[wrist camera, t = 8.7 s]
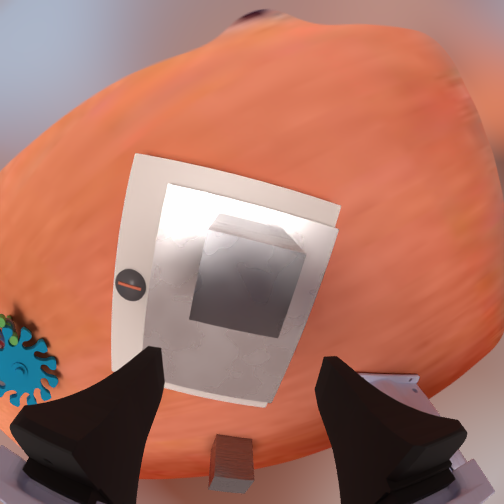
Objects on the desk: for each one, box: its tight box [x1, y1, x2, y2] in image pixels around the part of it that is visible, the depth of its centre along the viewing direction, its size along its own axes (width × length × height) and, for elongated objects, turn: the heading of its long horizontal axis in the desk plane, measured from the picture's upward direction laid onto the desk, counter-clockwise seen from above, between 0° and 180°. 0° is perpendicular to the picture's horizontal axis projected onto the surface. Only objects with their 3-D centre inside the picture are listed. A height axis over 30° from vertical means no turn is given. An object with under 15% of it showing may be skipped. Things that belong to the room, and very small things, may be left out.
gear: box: [0, 314, 58, 407], centre depth 19 cm, size 11×6×10 cm
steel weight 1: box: [189, 213, 306, 338], centre depth 14 cm, size 4×4×6 cm
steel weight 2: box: [208, 434, 254, 493], centre depth 22 cm, size 4×4×6 cm
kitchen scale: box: [111, 153, 341, 408], centre depth 19 cm, size 14×18×3 cm
